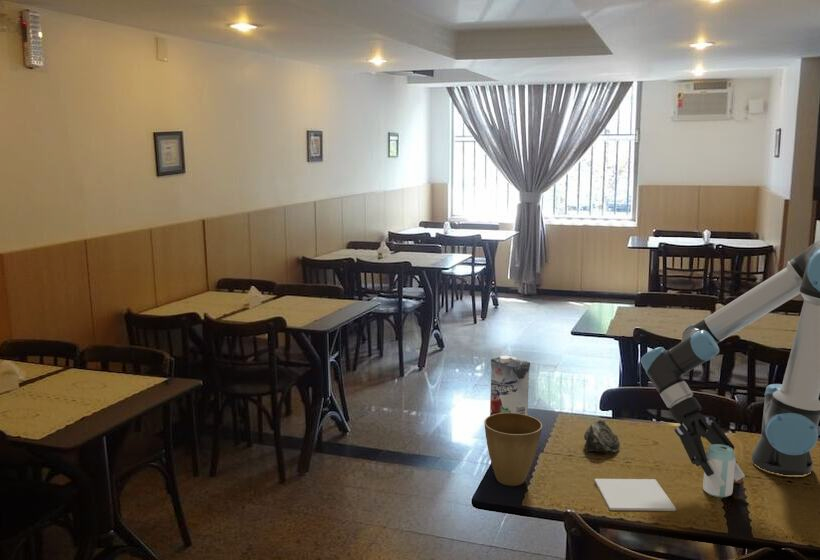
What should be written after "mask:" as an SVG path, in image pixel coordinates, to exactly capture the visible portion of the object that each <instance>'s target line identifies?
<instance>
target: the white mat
mask: <svg viewBox="0 0 820 560" xmlns="http://www.w3.org/2000/svg"><path fill="white" fill-rule="evenodd" d="M594 482H595V484H596V486H597V488H598V490H599V492H600V493H601V495H602V498H603V500H604V502H605V504H606V506H607V507H608V510H609V511H646V512H647V511H650V512H652V511H654V512H655V511H656V512H657V511H658V512H659V511H663V512H664V511H665V512H667V511H669V512H671V511H672V512H675V511H676V512H677V508H676V506H675V505H674V503H673V502H672V501H671V499H670V498H669V497H668V495H667V493H666V492H665V491H664V490H663V488H662V486H661V485H660V484H659V482H658V481H657V479H656V478H655V479H654V478H641V479H640V478H594Z"/></svg>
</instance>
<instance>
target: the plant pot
mask: <svg viewBox="0 0 820 560" xmlns="http://www.w3.org/2000/svg"><path fill="white" fill-rule="evenodd" d="M483 423H484V433H485V438H486V445H487V450H488V455H489V459H490V463H491V466H492V469H493V472H494V473H493V474H494V475H495V478H496V480H497V482H499V483H500V484H502V485H505V486H511V487H512V486H513V487H514V486H515V487H516V486H520V485H522V484H524V483H525V482H526V479H527V477H528V475H529V472H530V470H531V468H532V465H533V463H534V460H535V457H536V455H537V454H536V453H537V450H538V447H539V443H540V440H541V439H540V438H541V435H542V429H543V423H542V422H541V421H540V420H539V419H537V418H535V417H533V416H531V415H528V414H527V415H525V414H519V413H497V414H493V415H491V416H490V415H489V416H487V417H486V418H485V419H484V422H483Z"/></svg>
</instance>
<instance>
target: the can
mask: <svg viewBox="0 0 820 560" xmlns="http://www.w3.org/2000/svg"><path fill="white" fill-rule="evenodd" d="M705 453H706V457H707V462H708V461H710V460H711V462H712V463H713V465H714V467H715V468H716V470H717V471H718V473H719V475H720V476H721V478H722V480H723V481H724V483H725V485H723V486H721V487H719V488H718V489H716V488H715V487H714V485H713V483H712V482H711V480H710V478H709V477H708V476H707V475H706V474H705V472H704V471H703V480H702V490H704V491H705V493H706V494H708V495H710V496H713V497H715V498H727V497H729V496H732V494H733V490H734V481H735V479H734V471H735V460H736V458H737V457H736V454H735V450H733V449H732V448H731V447H729V446H726V445H721V444H713V445H712V444H710V445H709V446H708V449H706V450H705ZM736 461H737V460H736Z"/></svg>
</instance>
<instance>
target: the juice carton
mask: <svg viewBox="0 0 820 560" xmlns="http://www.w3.org/2000/svg"><path fill="white" fill-rule="evenodd" d="M530 369H531V363H530V362H529V361H527V360H522V359H520V358H518V357H515V356H514V355H501V356H499V357H494V358H490V406H489V407H490V408H489V416H491V415H493V414H497V413H519V414H525V415H528V411H529V410H528V409H529V407H528V406H529V387H530V386H529V385H530V384H529V380H530Z"/></svg>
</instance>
